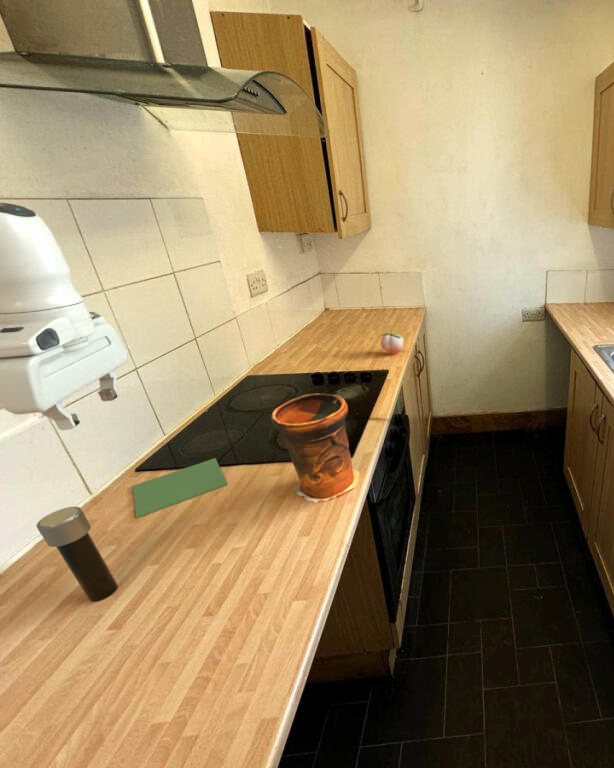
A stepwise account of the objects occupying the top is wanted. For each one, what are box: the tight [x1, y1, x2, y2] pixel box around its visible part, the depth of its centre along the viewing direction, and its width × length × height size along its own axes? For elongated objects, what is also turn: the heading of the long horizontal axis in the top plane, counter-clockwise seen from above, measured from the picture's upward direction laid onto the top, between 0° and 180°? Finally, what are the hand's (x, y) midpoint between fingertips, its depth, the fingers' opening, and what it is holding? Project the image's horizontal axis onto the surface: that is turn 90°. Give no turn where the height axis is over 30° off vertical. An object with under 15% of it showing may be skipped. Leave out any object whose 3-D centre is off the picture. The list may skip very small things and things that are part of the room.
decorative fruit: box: [380, 332, 405, 355], centre depth 170 cm, size 9×8×10 cm
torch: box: [36, 506, 119, 603], centre depth 65 cm, size 5×5×16 cm
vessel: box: [270, 392, 361, 504], centre depth 90 cm, size 14×14×20 cm
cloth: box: [132, 457, 228, 519], centre depth 94 cm, size 16×14×1 cm
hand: (92, 412), depth 64 cm, fingers open, 8 cm apart
